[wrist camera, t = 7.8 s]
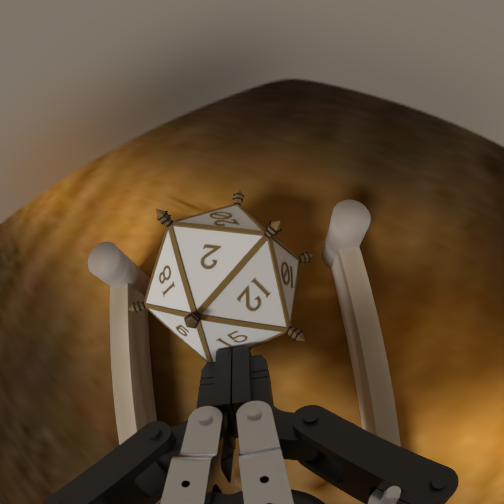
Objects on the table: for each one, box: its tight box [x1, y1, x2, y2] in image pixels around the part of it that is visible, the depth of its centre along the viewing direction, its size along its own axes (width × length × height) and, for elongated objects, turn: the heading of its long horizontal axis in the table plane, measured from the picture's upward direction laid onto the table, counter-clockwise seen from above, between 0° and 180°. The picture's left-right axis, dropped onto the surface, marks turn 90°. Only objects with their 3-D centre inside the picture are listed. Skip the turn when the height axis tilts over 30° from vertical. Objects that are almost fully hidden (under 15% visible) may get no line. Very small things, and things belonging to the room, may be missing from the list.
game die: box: [128, 189, 313, 362], centre depth 15 cm, size 9×8×10 cm
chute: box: [88, 200, 401, 504], centre depth 14 cm, size 15×18×5 cm
